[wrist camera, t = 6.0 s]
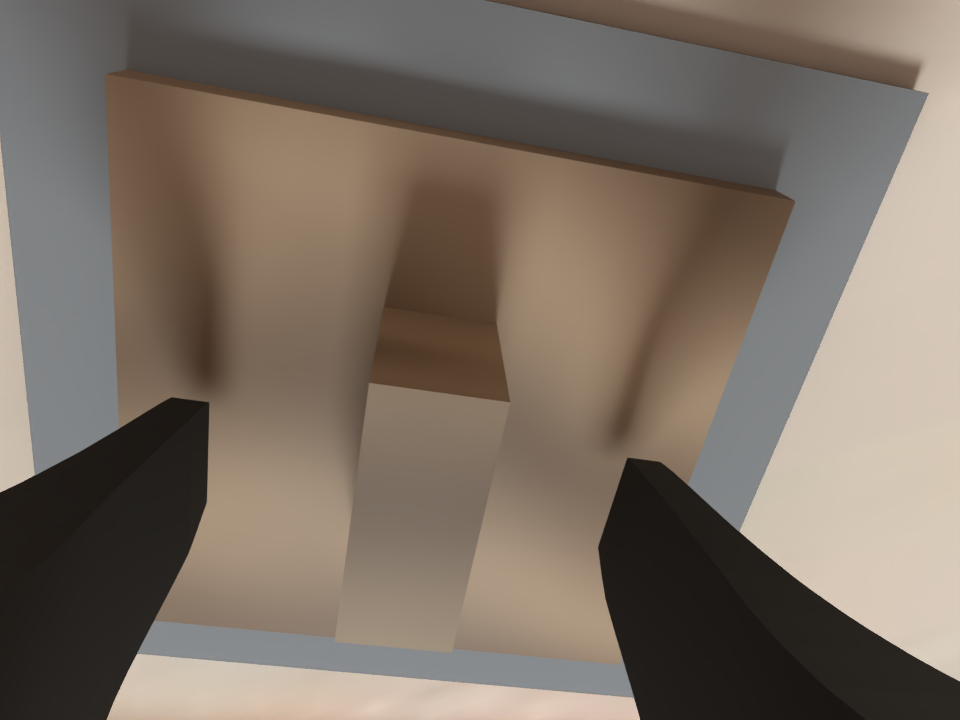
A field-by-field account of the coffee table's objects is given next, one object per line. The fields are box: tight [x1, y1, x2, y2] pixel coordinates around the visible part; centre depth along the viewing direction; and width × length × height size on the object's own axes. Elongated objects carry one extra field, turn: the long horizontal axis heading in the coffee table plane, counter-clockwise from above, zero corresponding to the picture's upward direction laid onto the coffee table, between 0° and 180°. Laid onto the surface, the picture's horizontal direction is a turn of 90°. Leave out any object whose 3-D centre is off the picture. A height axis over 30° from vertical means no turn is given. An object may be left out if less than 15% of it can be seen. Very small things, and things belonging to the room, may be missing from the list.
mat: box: [0, 0, 929, 698], centre depth 14 cm, size 15×15×1 cm
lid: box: [105, 70, 796, 665], centre depth 13 cm, size 11×11×4 cm
